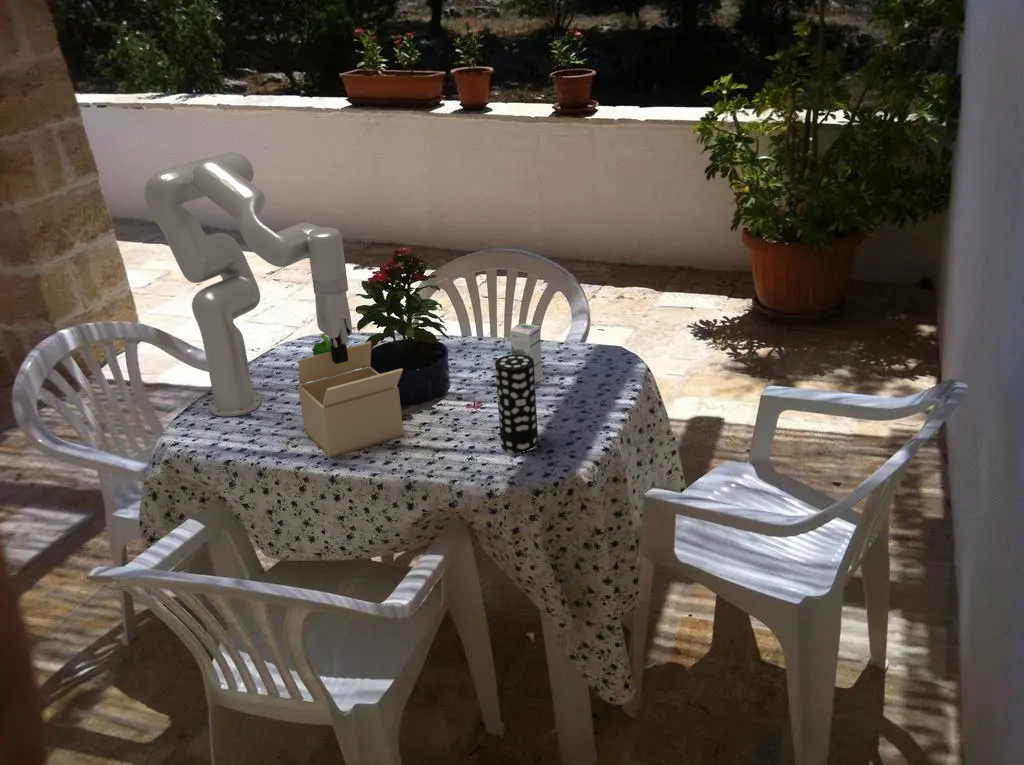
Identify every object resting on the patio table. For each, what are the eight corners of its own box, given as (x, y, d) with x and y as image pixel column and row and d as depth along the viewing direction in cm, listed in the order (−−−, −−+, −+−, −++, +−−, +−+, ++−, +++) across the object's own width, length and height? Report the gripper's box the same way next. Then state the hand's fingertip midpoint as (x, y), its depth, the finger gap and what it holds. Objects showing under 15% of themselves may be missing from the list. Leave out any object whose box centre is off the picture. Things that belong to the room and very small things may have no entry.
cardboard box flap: (395, 384, 236) (396, 386, 235) (322, 404, 228) (323, 406, 228) (401, 368, 230) (402, 370, 230) (326, 388, 222) (327, 390, 222)
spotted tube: (525, 456, 227) (520, 371, 219) (493, 448, 232) (487, 365, 224) (545, 440, 234) (540, 358, 226) (513, 433, 238) (508, 352, 230)
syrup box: (543, 378, 266) (541, 325, 260) (531, 387, 261) (528, 332, 255) (524, 374, 269) (521, 321, 263) (512, 383, 264) (508, 329, 258)
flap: (299, 384, 239) (298, 383, 240) (370, 365, 247) (369, 364, 248) (299, 361, 235) (298, 359, 235) (371, 342, 243) (370, 341, 243)
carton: (305, 432, 245) (297, 385, 240) (375, 412, 253) (369, 366, 248) (330, 458, 232) (323, 409, 227) (403, 435, 240) (398, 388, 235)
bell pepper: (348, 375, 275) (343, 339, 271) (317, 379, 274) (311, 344, 270) (345, 363, 283) (341, 329, 279) (315, 367, 281) (310, 333, 277)
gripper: (302, 279, 234) (313, 355, 242) (326, 296, 222) (337, 376, 230) (333, 273, 238) (343, 348, 245) (359, 289, 226) (368, 367, 233)
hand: (340, 361), depth 237 cm, fingers closed
